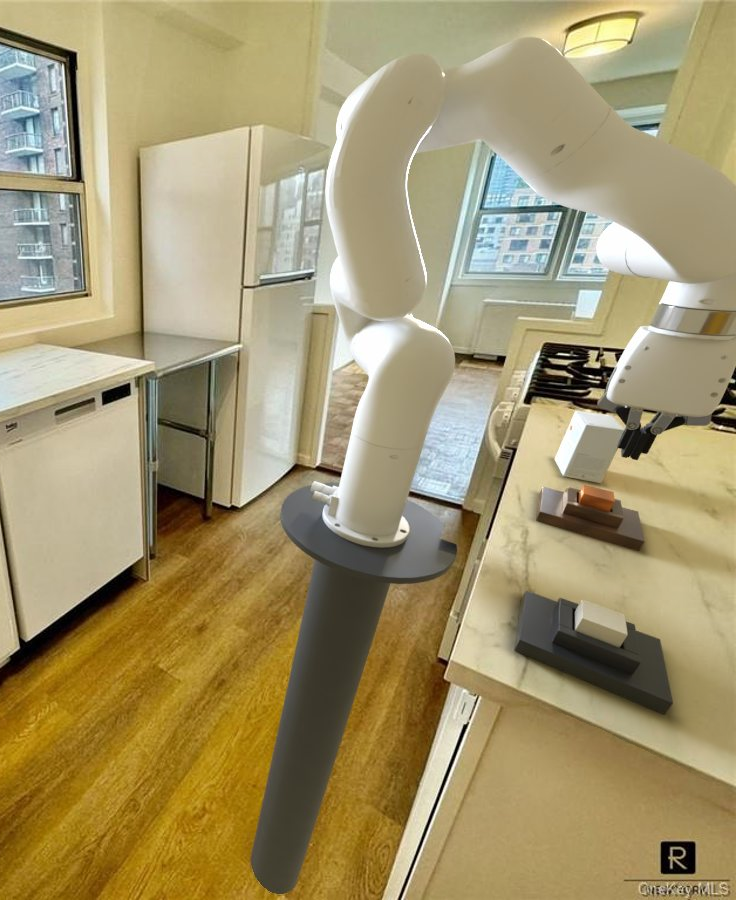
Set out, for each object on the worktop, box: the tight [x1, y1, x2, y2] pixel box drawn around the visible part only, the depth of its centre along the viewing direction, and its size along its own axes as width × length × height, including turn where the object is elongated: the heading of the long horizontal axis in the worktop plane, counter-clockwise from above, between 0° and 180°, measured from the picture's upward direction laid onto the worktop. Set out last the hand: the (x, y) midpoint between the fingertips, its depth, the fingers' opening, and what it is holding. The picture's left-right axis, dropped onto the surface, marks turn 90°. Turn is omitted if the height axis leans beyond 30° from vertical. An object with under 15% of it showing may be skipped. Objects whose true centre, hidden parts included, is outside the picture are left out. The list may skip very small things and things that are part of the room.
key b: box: [578, 484, 616, 512], centre depth 74 cm, size 4×4×2 cm
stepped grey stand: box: [514, 590, 674, 715], centre depth 53 cm, size 12×10×4 cm
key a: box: [574, 599, 628, 648], centre depth 52 cm, size 4×4×2 cm
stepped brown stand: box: [535, 486, 646, 552], centre depth 75 cm, size 12×10×4 cm
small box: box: [554, 410, 625, 484], centre depth 88 cm, size 8×6×10 cm
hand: (629, 455), depth 67 cm, fingers closed
